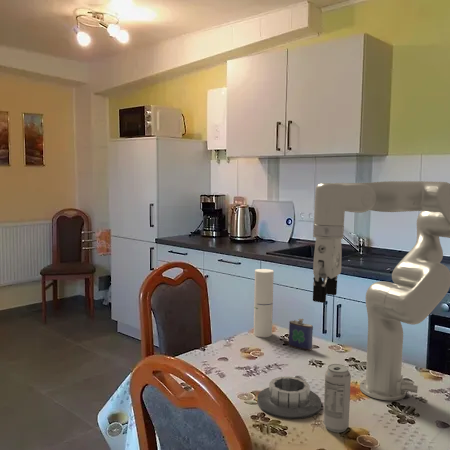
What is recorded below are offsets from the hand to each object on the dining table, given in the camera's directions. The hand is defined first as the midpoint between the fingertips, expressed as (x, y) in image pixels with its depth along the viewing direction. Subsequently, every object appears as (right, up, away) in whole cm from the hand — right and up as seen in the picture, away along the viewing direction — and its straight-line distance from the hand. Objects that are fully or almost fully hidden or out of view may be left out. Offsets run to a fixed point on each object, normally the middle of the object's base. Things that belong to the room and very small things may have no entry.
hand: (324, 298), depth 124 cm
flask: (+1, -25, +48) cm, 55 cm away
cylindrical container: (-11, -24, +63) cm, 68 cm away
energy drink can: (+1, -31, -6) cm, 31 cm away
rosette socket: (-9, -29, +6) cm, 31 cm away
